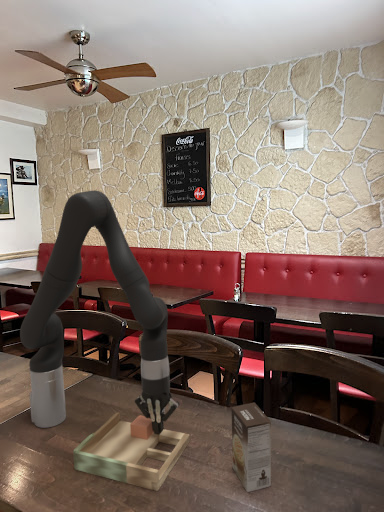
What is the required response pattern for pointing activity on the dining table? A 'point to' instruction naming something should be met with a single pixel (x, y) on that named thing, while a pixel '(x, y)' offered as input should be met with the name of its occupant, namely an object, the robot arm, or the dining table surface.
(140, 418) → the block
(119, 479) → the box
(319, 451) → the dining table surface
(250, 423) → the coffee box
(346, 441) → the dining table surface
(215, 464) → the dining table surface
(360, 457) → the dining table surface
